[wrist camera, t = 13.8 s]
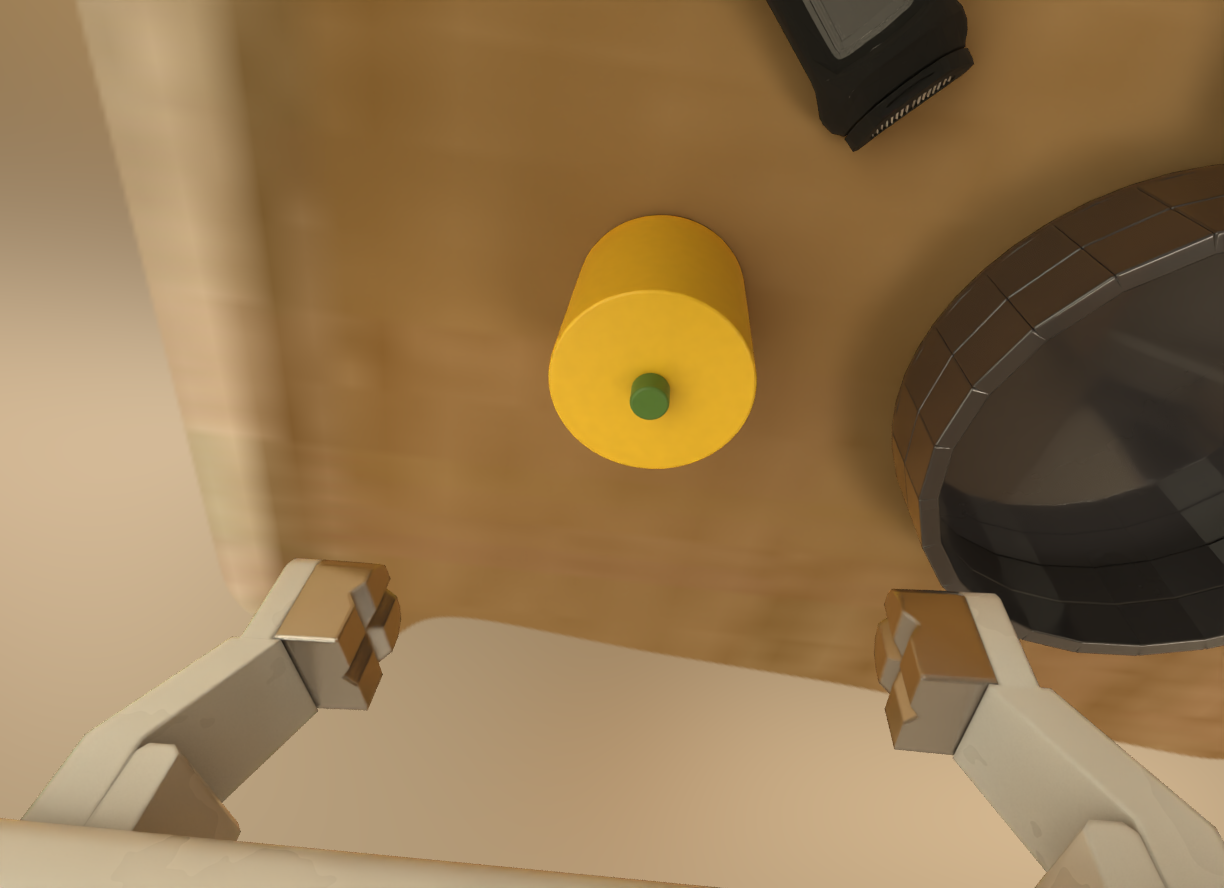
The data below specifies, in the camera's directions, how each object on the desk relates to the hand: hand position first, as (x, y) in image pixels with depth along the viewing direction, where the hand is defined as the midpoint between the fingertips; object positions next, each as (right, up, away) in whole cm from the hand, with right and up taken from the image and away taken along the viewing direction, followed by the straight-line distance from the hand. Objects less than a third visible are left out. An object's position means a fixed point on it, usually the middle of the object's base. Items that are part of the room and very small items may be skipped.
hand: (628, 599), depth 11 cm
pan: (+17, +4, +12) cm, 21 cm away
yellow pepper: (+1, +7, +11) cm, 13 cm away
